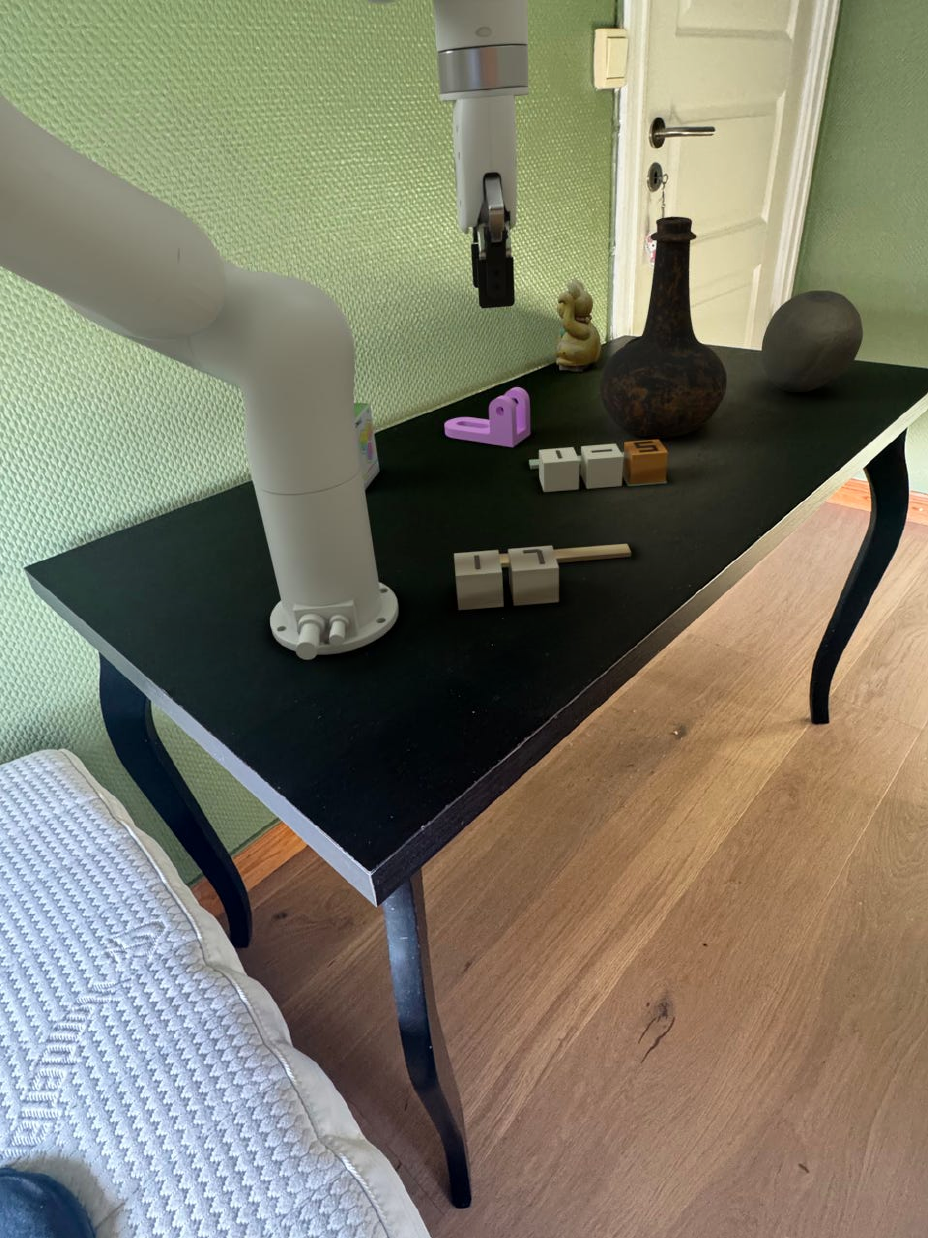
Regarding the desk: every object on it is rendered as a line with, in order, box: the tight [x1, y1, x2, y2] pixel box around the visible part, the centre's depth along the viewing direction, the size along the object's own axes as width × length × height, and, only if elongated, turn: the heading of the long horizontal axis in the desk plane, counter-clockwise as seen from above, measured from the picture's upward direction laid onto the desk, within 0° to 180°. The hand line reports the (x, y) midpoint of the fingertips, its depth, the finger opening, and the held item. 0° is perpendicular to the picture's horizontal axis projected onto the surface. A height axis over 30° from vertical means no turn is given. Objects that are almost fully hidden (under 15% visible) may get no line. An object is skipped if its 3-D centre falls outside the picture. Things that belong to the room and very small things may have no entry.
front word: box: [453, 543, 632, 611], centre depth 79 cm, size 10×19×4 cm, turn 93°
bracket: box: [443, 386, 531, 448], centre depth 114 cm, size 13×6×7 cm, turn 59°
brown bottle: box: [599, 216, 728, 439], centre depth 106 cm, size 18×18×28 cm
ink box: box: [354, 402, 380, 491], centre depth 100 cm, size 7×4×13 cm, turn 168°
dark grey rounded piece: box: [760, 290, 864, 393], centre depth 118 cm, size 14×14×15 cm
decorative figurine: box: [555, 278, 602, 373], centre depth 138 cm, size 10×8×15 cm
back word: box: [528, 443, 668, 493], centre depth 100 cm, size 10×17×4 cm, turn 93°
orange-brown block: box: [623, 439, 669, 484], centre depth 98 cm, size 4×4×4 cm
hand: (492, 295), depth 73 cm, fingers open, 9 cm apart
